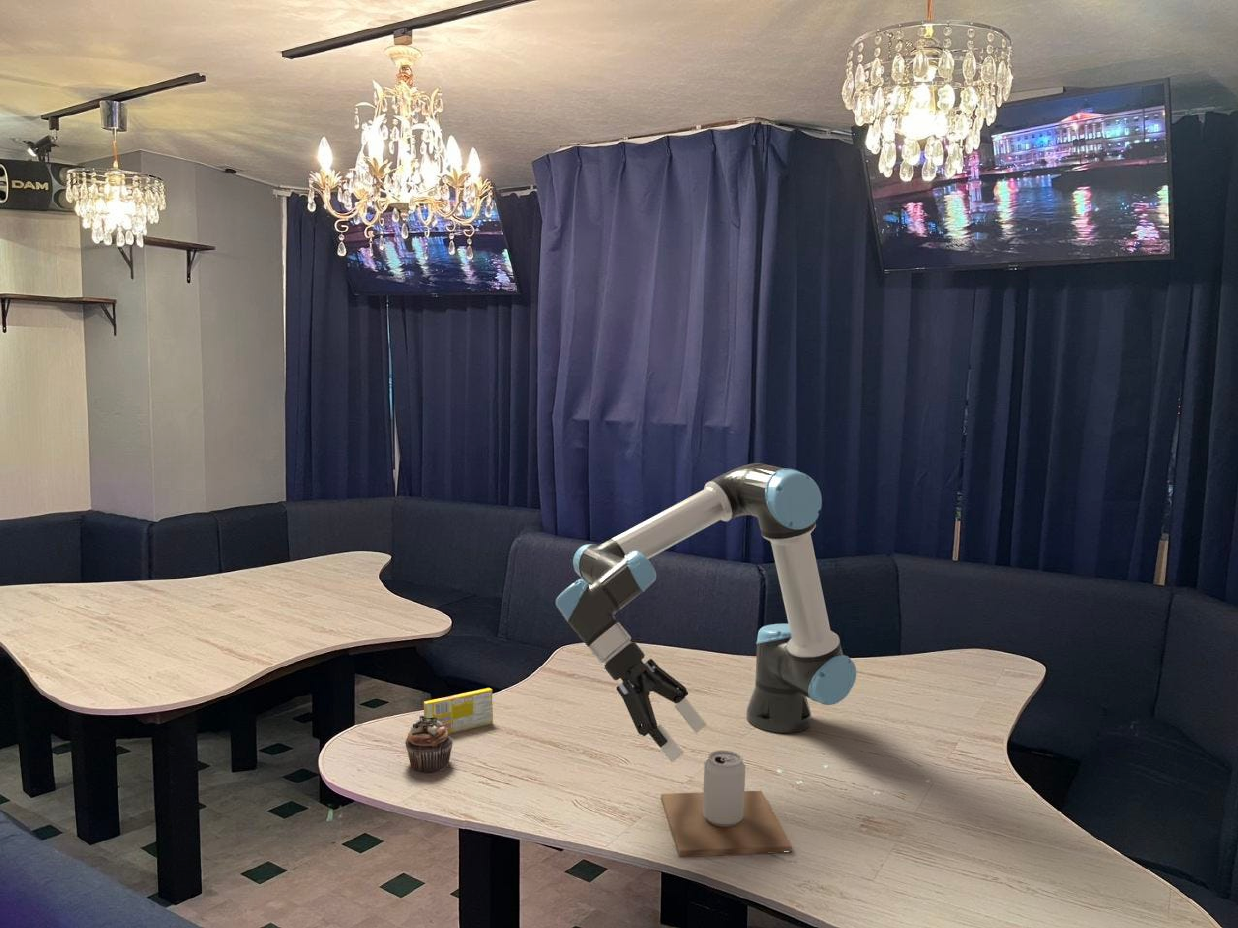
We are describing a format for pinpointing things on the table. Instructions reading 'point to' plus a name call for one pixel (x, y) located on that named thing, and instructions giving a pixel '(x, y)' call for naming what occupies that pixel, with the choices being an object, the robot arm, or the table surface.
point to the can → (724, 788)
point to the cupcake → (428, 745)
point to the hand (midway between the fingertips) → (690, 742)
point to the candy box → (462, 710)
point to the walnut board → (708, 839)
